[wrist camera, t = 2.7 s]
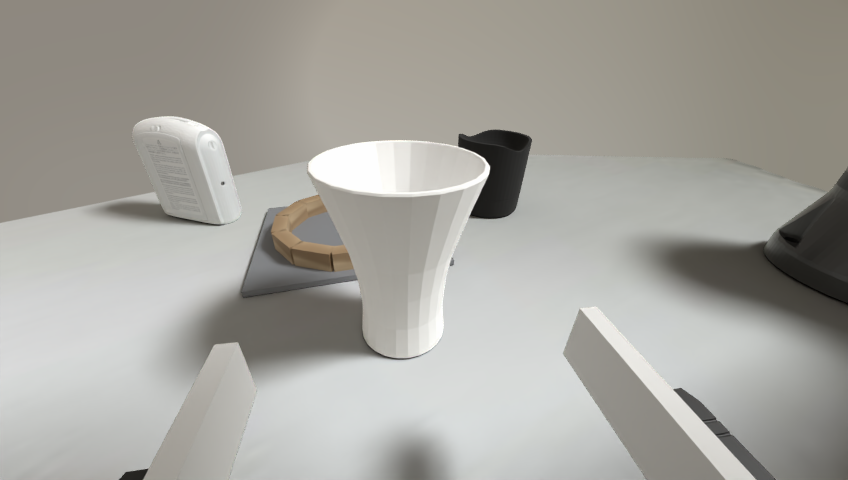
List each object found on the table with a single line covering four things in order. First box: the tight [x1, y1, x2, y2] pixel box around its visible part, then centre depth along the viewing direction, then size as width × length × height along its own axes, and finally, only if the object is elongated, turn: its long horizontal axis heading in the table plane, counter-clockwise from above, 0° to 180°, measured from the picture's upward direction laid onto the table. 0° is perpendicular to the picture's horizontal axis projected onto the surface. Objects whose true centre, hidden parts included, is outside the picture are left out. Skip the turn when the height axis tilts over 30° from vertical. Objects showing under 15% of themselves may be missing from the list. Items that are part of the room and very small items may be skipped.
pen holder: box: [458, 130, 532, 218], centre depth 43 cm, size 9×9×10 cm
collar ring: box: [271, 195, 354, 272], centre depth 37 cm, size 16×16×2 cm
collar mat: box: [241, 207, 454, 297], centre depth 37 cm, size 20×18×1 cm
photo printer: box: [132, 116, 242, 224], centre depth 38 cm, size 10×4×12 cm, turn 74°
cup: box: [307, 140, 490, 358], centre depth 22 cm, size 10×10×14 cm
